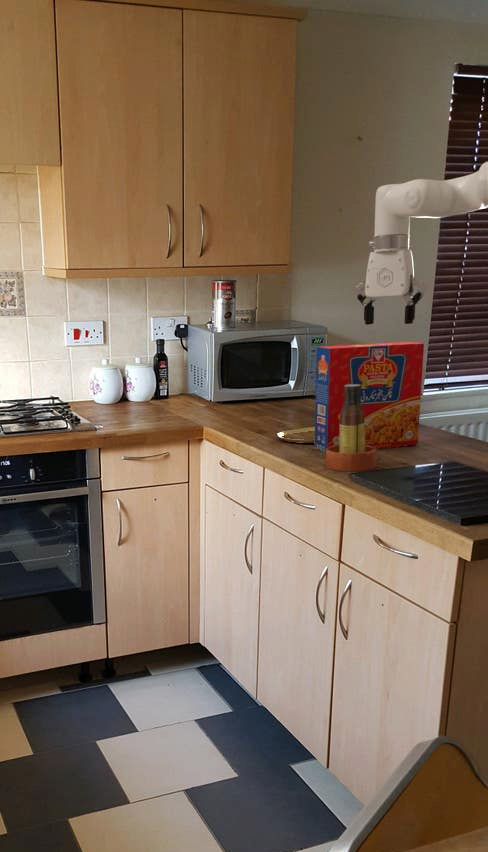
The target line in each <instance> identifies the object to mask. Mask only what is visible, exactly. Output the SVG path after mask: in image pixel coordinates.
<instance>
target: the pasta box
mask: <svg viewBox="0 0 488 852" xmlns="http://www.w3.org/2000/svg"><path fill="white" fill-rule="evenodd" d="M424 351H425V343H424V342H415V341H414V342H413V341H397V342H383V343H382V342H379V343H363V344H362V343H361V344H345V345H344V344H343V345H326V346H325V345H324V346H316V365H315V366H316V368H315V369H316V371H315V404H314V405H315V411H314V427H315V444H313V446H314V447H316V448H318V449H320V450H322V451H325V450H326V448H327V447H329V446H334V445H340V414H341V410H342V408H343V406H344V401H345V392H344V386H345V385H349V384H359V385H361V390H360V404H361V406H362V408H363V410H364V422H365V445H367V446H372V447H375V448H376V449H377V450H381V449H380V448H384V449H388V448H387V447H396V446H405V445H416V444H418V445H419V432H420V417H421V415H420V414H421V399H422V398H421V397H422V385H423V384H422V383H423V370H424V369H423V368H424V367H423V366H424ZM314 447H313V448H314ZM396 448H397V447H396ZM322 451H321V452H322Z"/></svg>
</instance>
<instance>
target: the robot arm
mask: <svg viewBox="0 0 488 852" xmlns="http://www.w3.org/2000/svg"><path fill="white" fill-rule="evenodd" d="M374 203H375V204H374V205H375V207H374V208H375V210H374V237H373V240H369V242H368V247H369V248H373V251H371V252H370V253H369V257H368V260H367V261H368V262H367V267H366V275H365V280H363V281H362V282H360V283H359V284H358V285H356V286H354V287H353V290H354V293H355V296H356V297H357V298H356V299H357V300H358V301H359V302H360V304H361V305H362V307H363V321H364V325H366V326H369V325H373V324H374V322H375V306H374V305H373V304H374V302H376V300H377V299H379V298H381V299H383V298H401V297H402V298H403V300H404V301H405V302H406V305H405V306H404V324H405V325H412V324H413V323H414V321H415V317H416V305H418V303H419V301H420V300H421V299H423V297H424V295H425V293H426V291H427V289H428V287H429V286H428V283H426V282H424V281H422V280H421V279H419V278H417V277H415V270H414V259H413V253H412V249H410V248H409V247H410V245H409V244H410V223H411V218H429V219H430V218H431V219H441V218H446V217H452V216H457V215H461V214H466V213H470V212H475V211H478V210H482V209H487V208H488V161H485V162H484V163H482V164H481V166H480V167H479V169H478V170H477V171H476V172H473V173H471V174H467V175H464V176H460V177H455V178H451V179H446V180H437V179H425V178H417V179H412V180H409V181H406V182H403V183H390V184H384V185H381V186H379V187H378V188H377V189H376V191H375V202H374ZM415 286H416V287H417V288H418V289H417V292H416V293H415V294H413V293H414V289H415ZM363 290H364V291H363Z"/></svg>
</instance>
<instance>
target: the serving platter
mask: <svg viewBox="0 0 488 852" xmlns="http://www.w3.org/2000/svg"><path fill="white" fill-rule="evenodd" d="M308 431H315V426H309V427H303V428H297V429H289V430H283V431H279V432H278V433H277V434H276V435H277V438H279V440H281V441H283V440H285V441H290V442H303V443H314V442H315V439H313V440H304V439H290V438H284V437H282V436H284V435H287V434H293V433H300V432H308ZM285 441H284V442H285Z"/></svg>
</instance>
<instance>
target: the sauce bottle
mask: <svg viewBox="0 0 488 852" xmlns="http://www.w3.org/2000/svg"><path fill="white" fill-rule="evenodd" d="M360 390H361V385H359V384H349V385H345V386H344V392H345V401H344V406H343V408H342V410H341V414H340V452H341V453H363V452H365V422H364V410H363V408H362V406H361V404H360Z"/></svg>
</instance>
